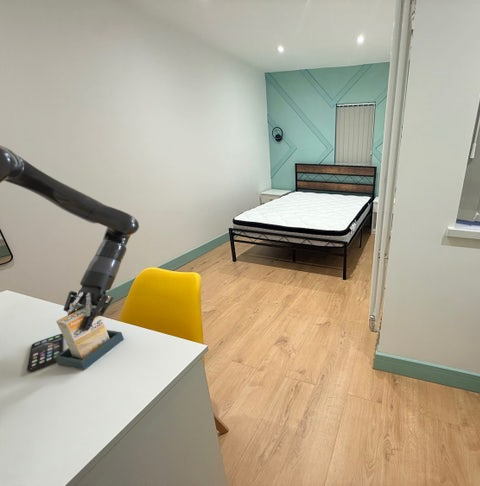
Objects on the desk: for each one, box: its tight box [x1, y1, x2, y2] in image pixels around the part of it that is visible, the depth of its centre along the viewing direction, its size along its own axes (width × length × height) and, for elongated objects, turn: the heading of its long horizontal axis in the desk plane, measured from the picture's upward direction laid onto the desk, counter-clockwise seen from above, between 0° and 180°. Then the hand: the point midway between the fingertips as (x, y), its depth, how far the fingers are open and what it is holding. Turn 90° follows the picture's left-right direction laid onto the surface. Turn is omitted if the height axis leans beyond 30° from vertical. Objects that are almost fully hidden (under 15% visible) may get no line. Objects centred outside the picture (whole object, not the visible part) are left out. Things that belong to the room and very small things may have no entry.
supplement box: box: [55, 307, 110, 360], centre depth 78 cm, size 8×5×13 cm, turn 160°
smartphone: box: [26, 333, 64, 373], centre depth 80 cm, size 7×1×15 cm
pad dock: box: [54, 329, 125, 371], centre depth 80 cm, size 10×13×3 cm
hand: (75, 328), depth 76 cm, fingers closed on supplement box, 5 cm apart
